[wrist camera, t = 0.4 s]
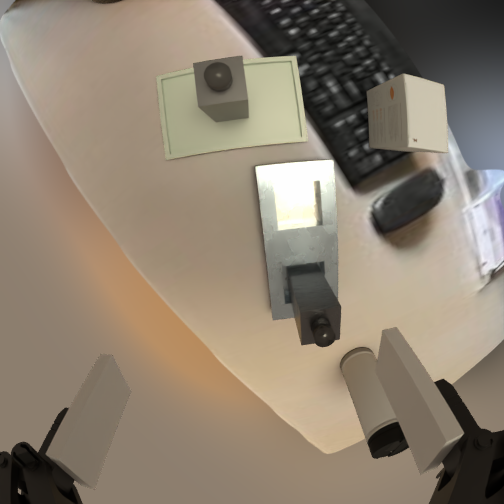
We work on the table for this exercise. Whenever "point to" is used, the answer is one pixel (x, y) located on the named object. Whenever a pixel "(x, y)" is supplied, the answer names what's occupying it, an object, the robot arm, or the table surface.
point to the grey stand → (302, 246)
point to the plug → (222, 88)
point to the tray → (240, 130)
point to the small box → (408, 115)
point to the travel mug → (372, 404)
